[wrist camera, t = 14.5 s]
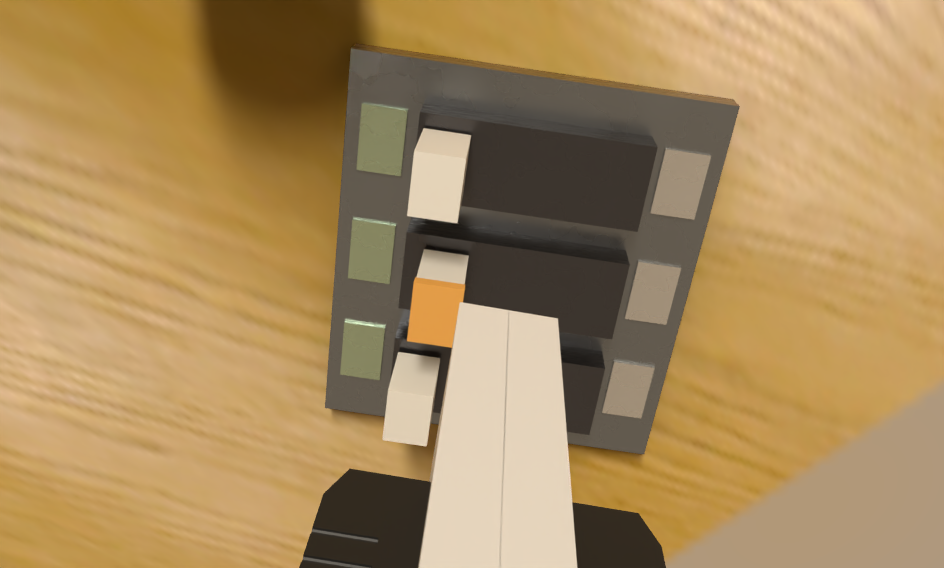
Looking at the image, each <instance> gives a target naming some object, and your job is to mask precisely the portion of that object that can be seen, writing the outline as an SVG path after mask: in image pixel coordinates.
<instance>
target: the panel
mask: <svg viewBox="0 0 944 568" xmlns="http://www.w3.org/2000/svg"><path fill="white" fill-rule="evenodd" d="M739 107H740V106H739V105H738V104H737V103H736V102H735V101H734V100H733V99H726V98H719V97H713V96H706V95H699V94H693V93H686V92H679V91H672V90H666V89H659V88H652V87H646V86H639V85H632V84H625V83H619V82H612V81H605V80H599V79H592V78H585V77H578V76H572V75H565V74H558V73H552V72H545V71H538V70H531V69H525V68H518V67H511V66H505V65H498V64H491V63H484V62H478V61H471V60H464V59H458V58H451V57H444V56H437V55H431V54H424V53H417V52H411V51H404V50H397V49H390V48H384V47H377V46H370V45H364V44H357V43H356V44H355V45H354V46H353V47H352V48H351V55H350V69H349V83H348V97H347V111H346V124H345V138H344V152H343V166H342V180H341V194H340V208H339V221H338V235H337V249H336V263H335V277H334V291H333V305H332V319H331V332H330V346H329V360H328V374H327V388H326V402H325V408H329V409H336V410H343V411H350V412H356V413H363V414H370V415H377V416H384V417H385V413H386V404H387V395H388V388H389V385H390V381H391V377H392V373H393V370H394V366H395V362H396V359H397V355H398V352H402V353H409V354H416V355H423V356H429V357H436V358H440V365H439V372H438V379H437V386H436V393H435V401H434V407H433V413H432V419H431V423H432V424H439V420H440V414H441V409H442V403H443V397H444V391H445V385H446V379H447V374H448V368H449V362H450V356H451V350H452V348H451V347H444V346H437V345H430V344H423V343H416V342H410V341H407V336H408V327H409V319H410V310H411V302H412V293H413V284H414V280H415V277H417V273H418V270H419V266H420V262H421V259H422V255H423V251H424V249H427V250H434V251H441V252H448V253H455V254H461V255H468V256H469V258H468V265H467V271H466V278H465V291H464V298H463V303H469V304H475V305H481V306H486V307H492V308H498V309H504V310H510V311H516V312H522V313H528V314H534V315H540V316H546V317H552V318H558V327H559V339H560V352H561V365H562V378H563V391H564V404H565V416H566V429H567V442H568V443H569V444H576V445H583V446H590V447H597V448H603V449H610V450H617V451H624V452H631V453H638V454H644V452H645V449H646V445H647V441H648V438H649V434H650V431H651V427H652V423H653V420H654V416H655V412H656V409H657V405H658V401H659V398H660V394H661V391H662V387H663V383H664V380H665V376H666V372H667V369H668V365H669V361H670V358H671V354H672V350H673V347H674V343H675V340H676V336H677V332H678V329H679V325H680V321H681V318H682V314H683V310H684V307H685V303H686V300H687V296H688V292H689V289H690V285H691V281H692V278H693V274H694V270H695V267H696V263H697V260H698V256H699V252H700V249H701V245H702V241H703V238H704V234H705V230H706V227H707V223H708V219H709V216H710V212H711V209H712V205H713V201H714V198H715V194H716V190H717V187H718V183H719V179H720V176H721V172H722V169H723V165H724V161H725V158H726V154H727V150H728V147H729V143H730V139H731V136H732V132H733V128H734V125H735V121H736V118H737V114H738V110H739ZM423 128H426V129H433V130H440V131H447V132H453V133H460V134H467V135H471V141H470V148H469V155H468V162H467V169H466V177H465V184H464V191H463V197H462V202H461V208H460V213H459V218H458V223H451V222H444V221H438V220H431V219H424V218H417V217H410V216H407V212H408V203H409V194H410V184H411V175H412V166H413V157H414V150H415V148H416V145H417V143H418V140H419V138H420V136H421V133H422V131H423Z"/></svg>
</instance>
